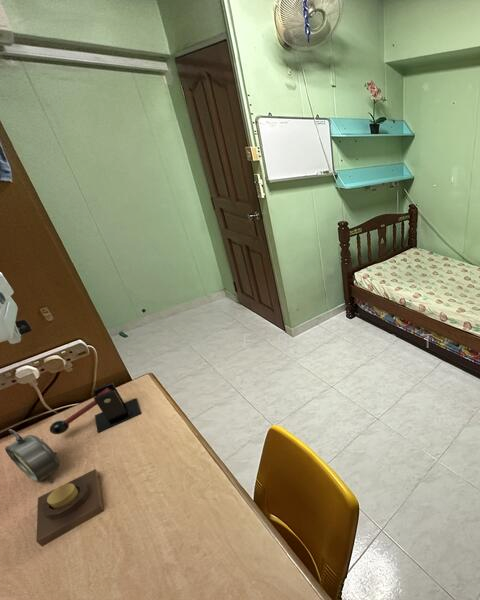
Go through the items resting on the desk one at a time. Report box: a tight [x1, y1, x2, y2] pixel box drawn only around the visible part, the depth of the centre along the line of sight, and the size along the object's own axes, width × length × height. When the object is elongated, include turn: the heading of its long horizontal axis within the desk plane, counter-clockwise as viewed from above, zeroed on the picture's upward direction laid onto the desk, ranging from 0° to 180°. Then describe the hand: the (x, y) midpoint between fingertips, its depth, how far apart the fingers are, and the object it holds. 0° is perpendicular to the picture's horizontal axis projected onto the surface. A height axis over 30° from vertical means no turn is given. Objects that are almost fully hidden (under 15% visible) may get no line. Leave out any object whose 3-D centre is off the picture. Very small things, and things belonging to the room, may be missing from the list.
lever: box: [49, 387, 111, 435], centre depth 87 cm, size 15×4×4 cm, turn 133°
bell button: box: [47, 482, 79, 509], centre depth 70 cm, size 4×4×2 cm
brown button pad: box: [35, 468, 105, 547], centre depth 71 cm, size 10×12×4 cm
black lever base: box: [92, 382, 142, 434], centre depth 91 cm, size 10×8×11 cm
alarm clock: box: [4, 428, 61, 484], centre depth 75 cm, size 11×5×16 cm, turn 68°
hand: (16, 340), depth 79 cm, fingers closed
